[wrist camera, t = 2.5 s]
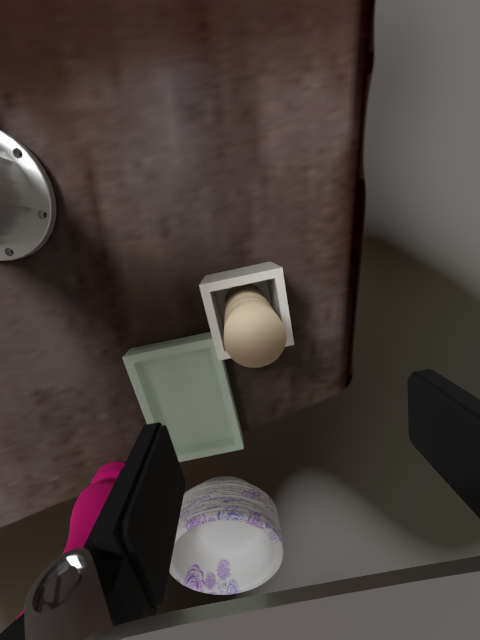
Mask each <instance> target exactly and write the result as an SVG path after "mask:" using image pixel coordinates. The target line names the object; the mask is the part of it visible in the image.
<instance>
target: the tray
mask: <svg viewBox="0 0 480 640" xmlns="http://www.w3.org/2000/svg"><path fill="white" fill-rule="evenodd" d="M122 359H123V361H124V364H125V367H126V369H127V372H128V375H129V377H130V380H131V383H132V386H133V388H134V391H135V394H136V396H137V399H138V402H139V404H140V407H141V410H142V412H143V415H144V418H145V420H146V423H147V424H152V423H157V422H160V423H161V424H162V425H166V426H167V429H168V432H169V435H170V438H171V440H172V443H173V446H174V449H175V452H176V455H177V458H178V461H179V462H182V461H187V460H192V459H197V458H202V457H207V456H212V455H217V454H222V453H227V452H231V451H236V450H241V449H244V444H243V434H242V430H241V426H240V422H239V418H238V414H237V410H236V406H235V402H234V398H233V394H232V390H231V385H230V381H229V377H228V373H227V369H226V365H225V361H224V360H219V361H218V358H217V354H216V350H215V346H214V342H213V339H212V335H211V332H207V333H202V334H197V335H193V336H188V337H183V338H178V339H174V340H169V341H164V342H159V343H155V344H150V345H145V346H140V347H136V348H131V349H129V350H128V351H127V352H126V353H125V355H124V356H123V357H122Z"/></svg>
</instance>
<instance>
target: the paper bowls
mask: <svg viewBox="0 0 480 640" xmlns="http://www.w3.org/2000/svg"><path fill="white" fill-rule="evenodd" d="M283 554H284V546H283V540H282V535H281V527H280V522H279V516H278V512H277V509H276V506H275V504H274V503H273V501H272V500H271V498H270V497H269V496H268V495H267V494H266V493H265V492H263V491H262V490H261V489H259V488H257V487H256V486H254V485H251V484H250V483H248V482H246V481H244V480H243V479H240V478H237V477H232V476H221V477H215V478H212V479H209V480H207V481H205V482H203V483H202V484H199V485H197V486H195V487H193V488H192V489H190V490H188V491H187V492H185V493H184V496H183V501H182V507H181V512H180V517H179V523H178V528H177V533H176V538H175V544H174V549H173V554H172V559H171V565H170V570H169V572H170V574H171V575H172V576H173V577H174V578H175V579H176V580H177V581H178V582H180V583H181V584H183V585H184V586H186V587H188V588H190V589H193V590H196V591H200V592H203V593H209V594H216V595H227V594H235V593H241V592H244V591H248V590H251V589H254V588H256V587H258V586H260V585H261V584H263V583H265V582H266V581H267V580H269V579H270V578H271V577H272V576H273V575H274V574H275V573H276V572H277V570H278V568H279V567H280V565H281V562H282V559H283Z"/></svg>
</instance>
